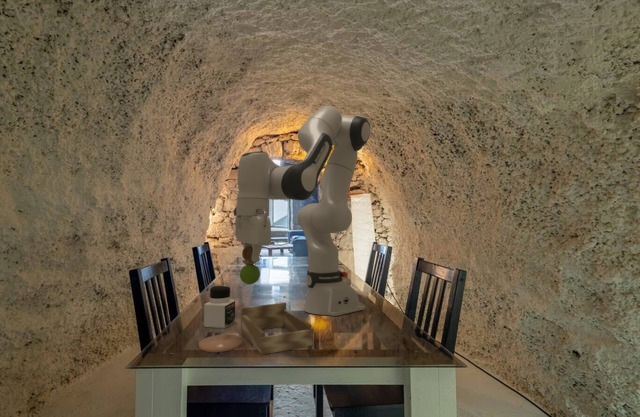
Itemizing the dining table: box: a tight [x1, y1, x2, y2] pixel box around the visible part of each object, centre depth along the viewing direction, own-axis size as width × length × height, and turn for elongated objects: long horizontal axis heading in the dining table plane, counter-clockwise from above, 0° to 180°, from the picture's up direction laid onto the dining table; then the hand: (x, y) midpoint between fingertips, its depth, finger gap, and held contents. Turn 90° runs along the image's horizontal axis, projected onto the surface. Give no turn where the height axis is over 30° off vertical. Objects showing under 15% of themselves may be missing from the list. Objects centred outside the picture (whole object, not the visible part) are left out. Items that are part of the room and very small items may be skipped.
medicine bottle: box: [203, 284, 236, 329], centre depth 112 cm, size 7×7×12 cm
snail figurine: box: [239, 246, 261, 285], centre depth 97 cm, size 5×6×12 cm
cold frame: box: [240, 302, 314, 356], centre depth 99 cm, size 14×20×7 cm
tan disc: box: [198, 334, 243, 353], centre depth 94 cm, size 11×11×1 cm
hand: (251, 260), depth 97 cm, fingers open, 4 cm apart
